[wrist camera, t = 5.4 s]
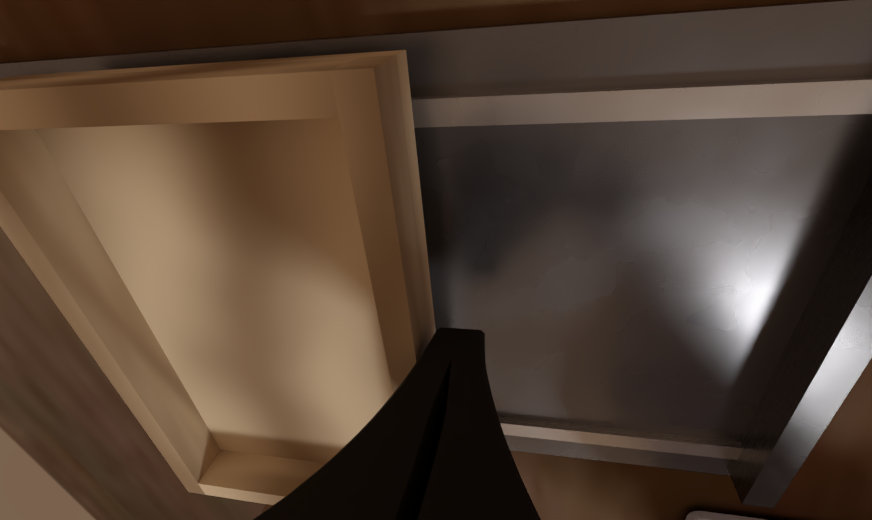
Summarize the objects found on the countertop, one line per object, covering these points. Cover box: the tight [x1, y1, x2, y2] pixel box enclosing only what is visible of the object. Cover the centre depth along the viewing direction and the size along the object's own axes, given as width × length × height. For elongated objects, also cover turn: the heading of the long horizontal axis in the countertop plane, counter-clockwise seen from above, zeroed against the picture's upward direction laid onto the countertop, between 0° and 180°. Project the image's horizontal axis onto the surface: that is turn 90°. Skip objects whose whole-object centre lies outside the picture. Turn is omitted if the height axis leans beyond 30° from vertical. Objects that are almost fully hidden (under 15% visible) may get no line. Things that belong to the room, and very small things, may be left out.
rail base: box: [0, 0, 872, 508], centre depth 14 cm, size 25×16×2 cm, turn 95°
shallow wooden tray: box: [0, 50, 436, 505], centre depth 14 cm, size 11×16×3 cm
